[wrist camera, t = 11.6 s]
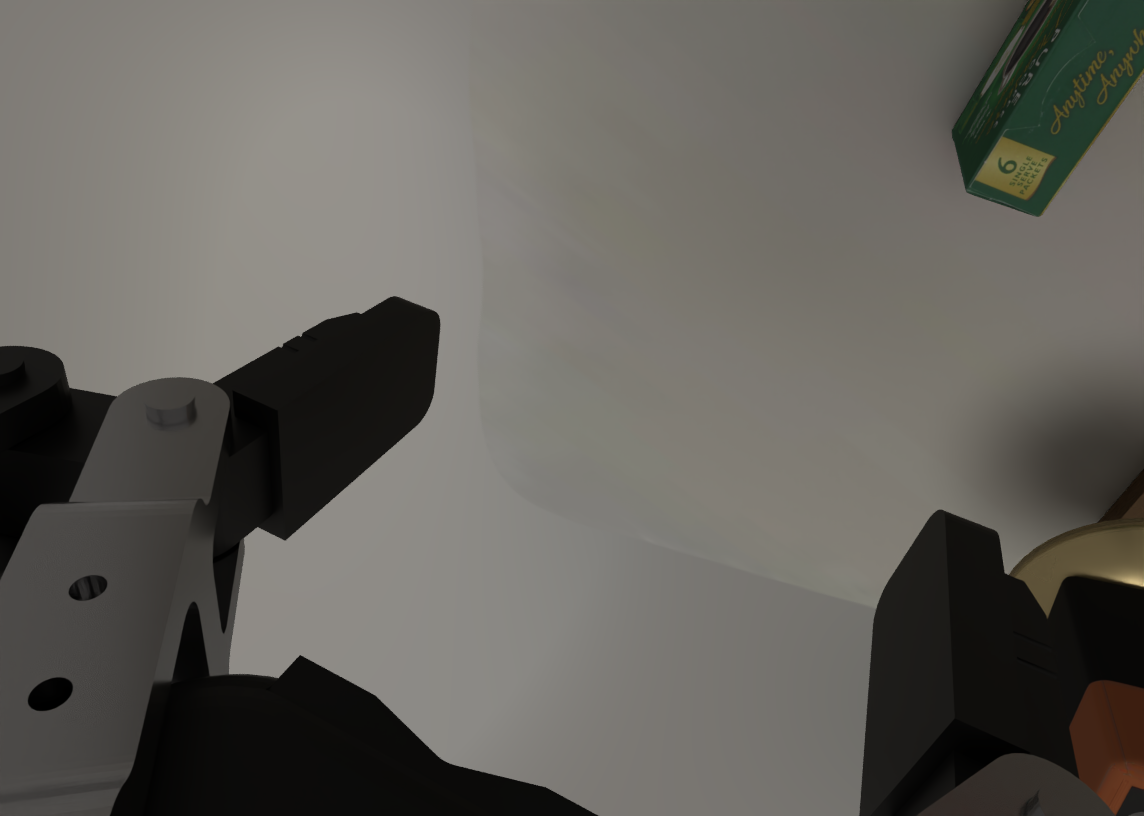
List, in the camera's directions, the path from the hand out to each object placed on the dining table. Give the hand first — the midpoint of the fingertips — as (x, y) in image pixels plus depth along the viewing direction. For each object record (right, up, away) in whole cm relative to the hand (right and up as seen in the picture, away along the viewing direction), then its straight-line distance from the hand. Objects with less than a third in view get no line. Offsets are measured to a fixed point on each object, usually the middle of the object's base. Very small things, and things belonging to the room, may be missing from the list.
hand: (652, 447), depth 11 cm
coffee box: (+20, +17, +22) cm, 34 cm away
